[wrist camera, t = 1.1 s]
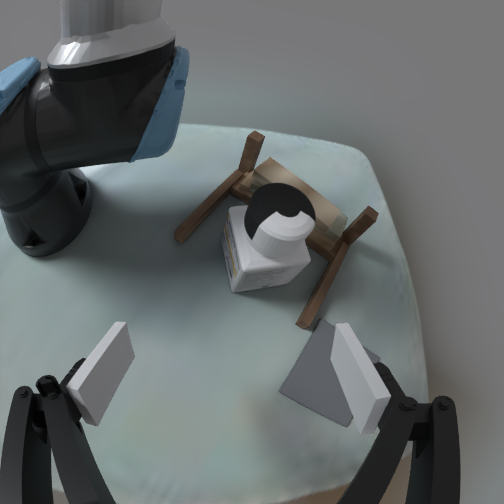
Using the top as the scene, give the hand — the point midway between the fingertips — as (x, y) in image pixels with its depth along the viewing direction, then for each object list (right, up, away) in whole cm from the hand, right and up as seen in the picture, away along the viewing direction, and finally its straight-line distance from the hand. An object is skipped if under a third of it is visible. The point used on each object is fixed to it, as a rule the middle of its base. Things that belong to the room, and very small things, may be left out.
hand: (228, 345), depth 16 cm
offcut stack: (+7, +12, +23) cm, 27 cm away
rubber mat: (+12, -10, +16) cm, 22 cm away
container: (+2, +4, +20) cm, 21 cm away
